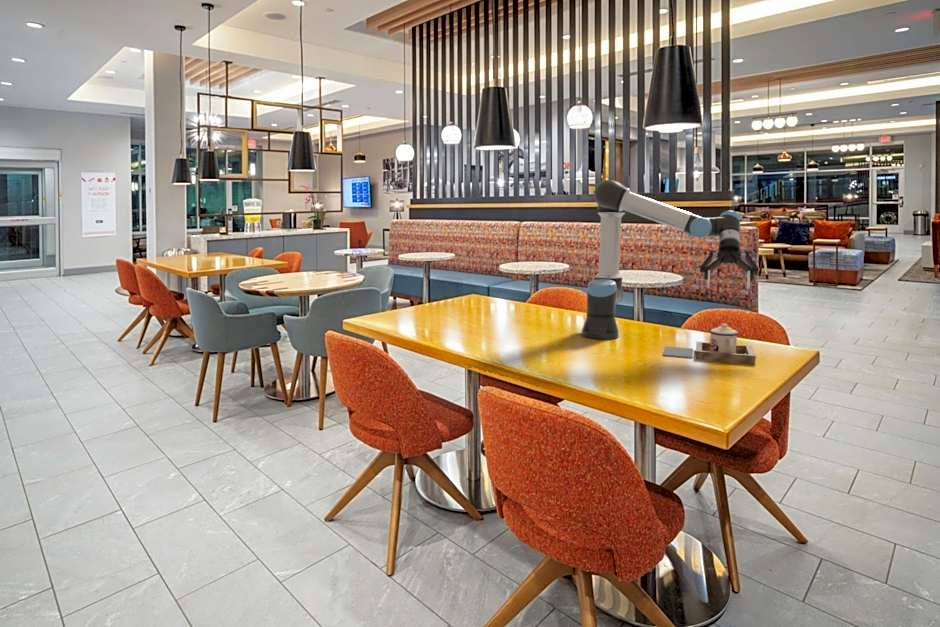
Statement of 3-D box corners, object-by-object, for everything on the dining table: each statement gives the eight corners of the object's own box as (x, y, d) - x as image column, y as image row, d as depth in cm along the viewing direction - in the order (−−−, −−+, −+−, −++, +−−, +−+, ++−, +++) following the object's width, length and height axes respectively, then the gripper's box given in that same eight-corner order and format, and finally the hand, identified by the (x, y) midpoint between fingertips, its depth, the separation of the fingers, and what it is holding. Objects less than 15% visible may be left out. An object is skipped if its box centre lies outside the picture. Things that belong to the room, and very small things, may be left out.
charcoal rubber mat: (662, 355, 211) (662, 354, 211) (665, 347, 225) (665, 346, 224) (692, 358, 207) (692, 357, 207) (693, 349, 221) (693, 348, 221)
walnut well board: (695, 359, 205) (695, 351, 205) (695, 349, 222) (696, 341, 221) (755, 364, 199) (755, 356, 198) (751, 353, 215) (751, 345, 215)
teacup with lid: (704, 352, 216) (706, 321, 214) (729, 353, 216) (731, 321, 214) (717, 360, 204) (720, 327, 203) (744, 360, 204) (746, 327, 202)
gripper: (695, 237, 229) (692, 278, 218) (766, 237, 220) (767, 280, 209) (694, 250, 235) (692, 291, 224) (763, 250, 226) (764, 293, 214)
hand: (728, 286), depth 216 cm, fingers open, 13 cm apart
